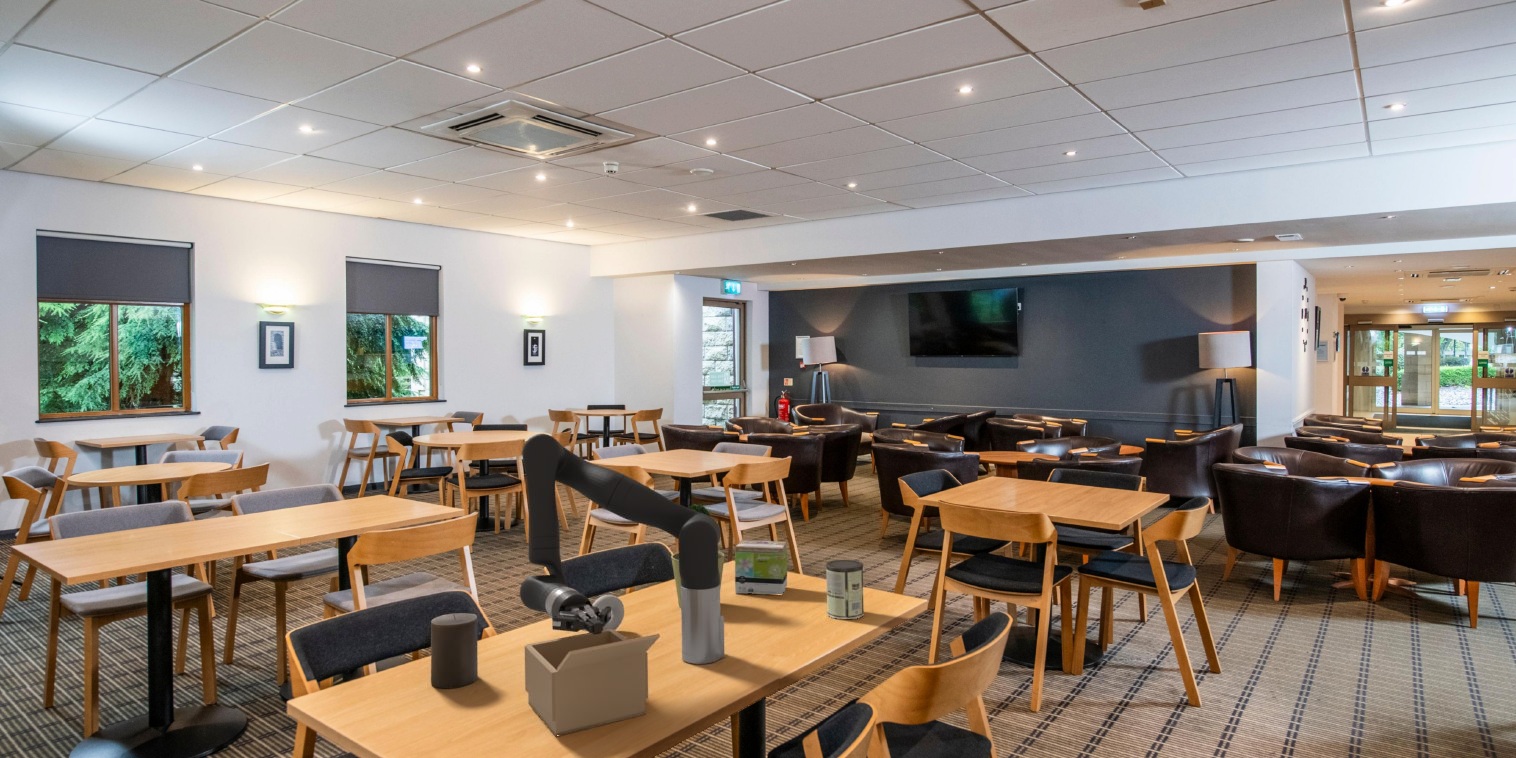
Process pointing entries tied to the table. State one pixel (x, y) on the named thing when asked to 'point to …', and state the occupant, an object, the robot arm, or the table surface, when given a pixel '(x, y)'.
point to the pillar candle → (454, 650)
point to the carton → (584, 684)
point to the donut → (616, 610)
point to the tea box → (760, 567)
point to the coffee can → (844, 589)
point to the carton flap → (607, 652)
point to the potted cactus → (676, 558)
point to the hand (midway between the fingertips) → (598, 628)
